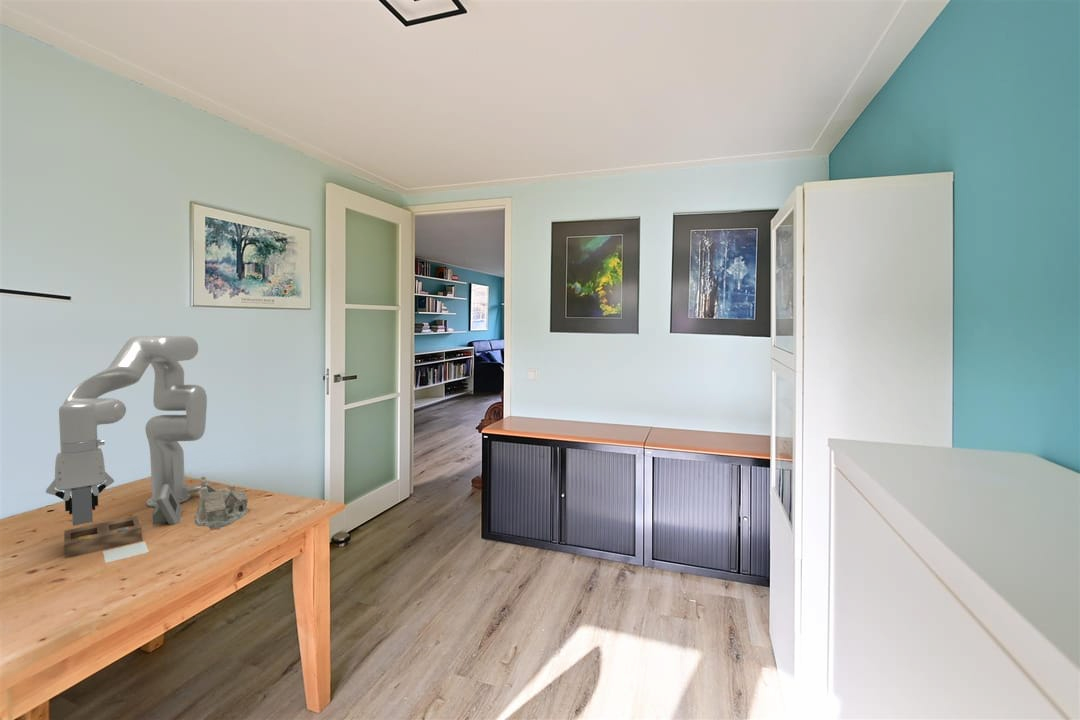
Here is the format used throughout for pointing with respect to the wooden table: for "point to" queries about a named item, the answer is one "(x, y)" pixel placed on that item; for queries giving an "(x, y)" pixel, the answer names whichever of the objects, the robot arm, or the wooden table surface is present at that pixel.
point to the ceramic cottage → (219, 505)
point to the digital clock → (167, 507)
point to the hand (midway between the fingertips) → (82, 510)
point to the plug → (81, 505)
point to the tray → (125, 552)
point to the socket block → (102, 536)
